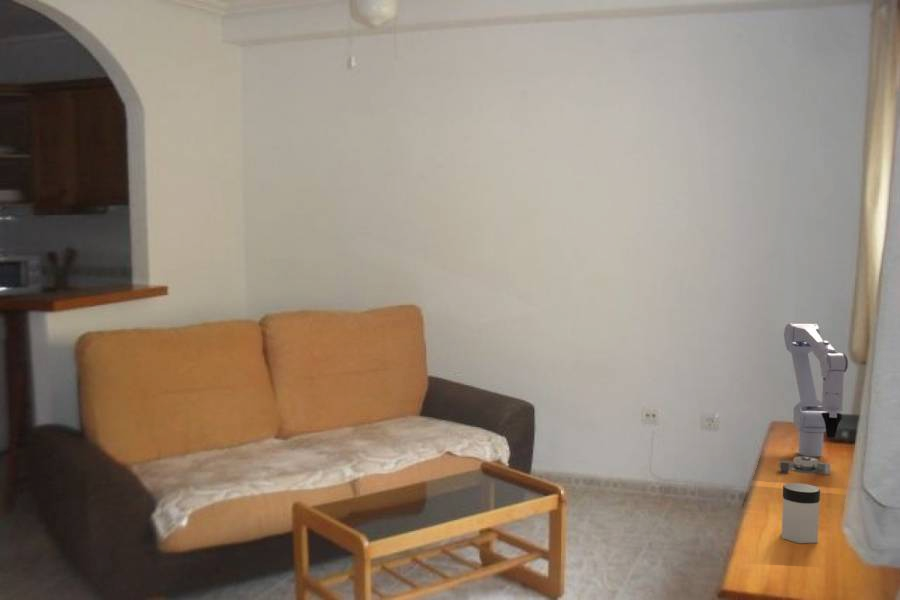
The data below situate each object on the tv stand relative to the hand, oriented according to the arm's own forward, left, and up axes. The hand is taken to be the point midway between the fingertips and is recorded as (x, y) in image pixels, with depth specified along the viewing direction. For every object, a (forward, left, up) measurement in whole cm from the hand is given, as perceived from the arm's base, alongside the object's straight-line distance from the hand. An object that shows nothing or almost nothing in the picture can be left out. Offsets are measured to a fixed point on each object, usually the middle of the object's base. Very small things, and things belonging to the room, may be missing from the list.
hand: (830, 437), depth 277 cm
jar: (+72, -10, -10) cm, 73 cm away
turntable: (+7, -7, -10) cm, 14 cm away
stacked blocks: (+15, -13, -10) cm, 22 cm away
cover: (+7, -7, -9) cm, 13 cm away
